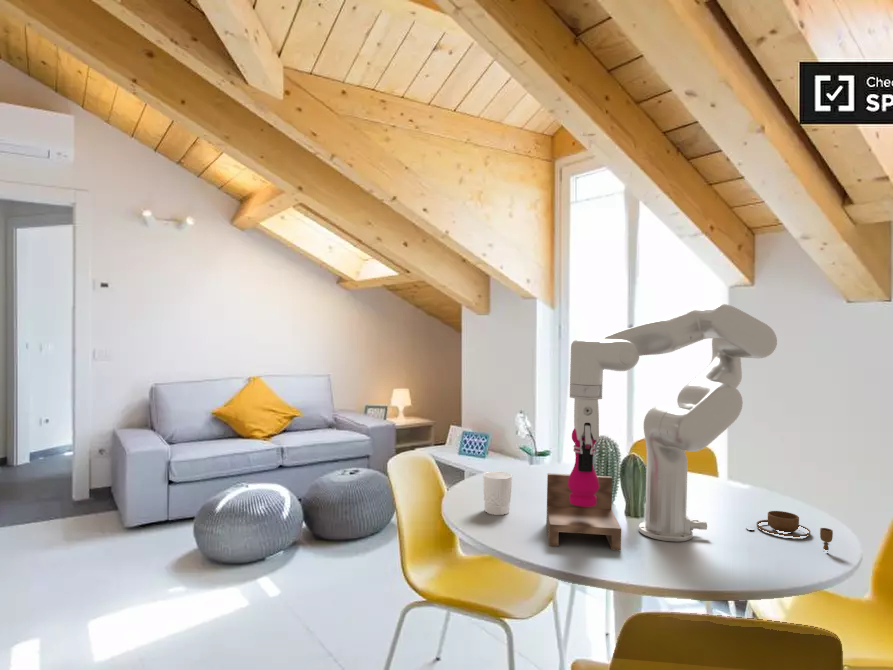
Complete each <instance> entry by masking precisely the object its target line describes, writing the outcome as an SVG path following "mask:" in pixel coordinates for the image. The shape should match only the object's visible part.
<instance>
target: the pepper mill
mask: <svg viewBox="0 0 893 670" xmlns="http://www.w3.org/2000/svg"><path fill="white" fill-rule="evenodd" d="M571 440H572V441H573V443H574V445H573V452H574V453H575V455H574V456H575V459H574V461H575V462H574V465H573V468H572V470H571V472H570V473H569V474H570V476H569V479H568V487H569V489H570V490H571V492H572V493H571V494H570V499H569V501H570V503H571V504H573V505H577V506H583V507H591V506H595V505H596V503H597V497H596V496H595V495H594V494H595V493H596V492H597V491H598V489H599V481H598V477H597V476H598V475H597V473H596V471H595V468H594V466H593V469H592V472H584V471H579V470H578V456H579V454H580V441H579V440H577V435H576V430H575V429H574V428H573V430H572V433H571ZM582 440H585V438H582ZM595 441H596V440H594V439H593V436H592V454H593V455H594V454H595V453H596V450H595V449H596V446H595V444H596V443H597V442H595ZM583 444H585V443H583Z"/></svg>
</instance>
